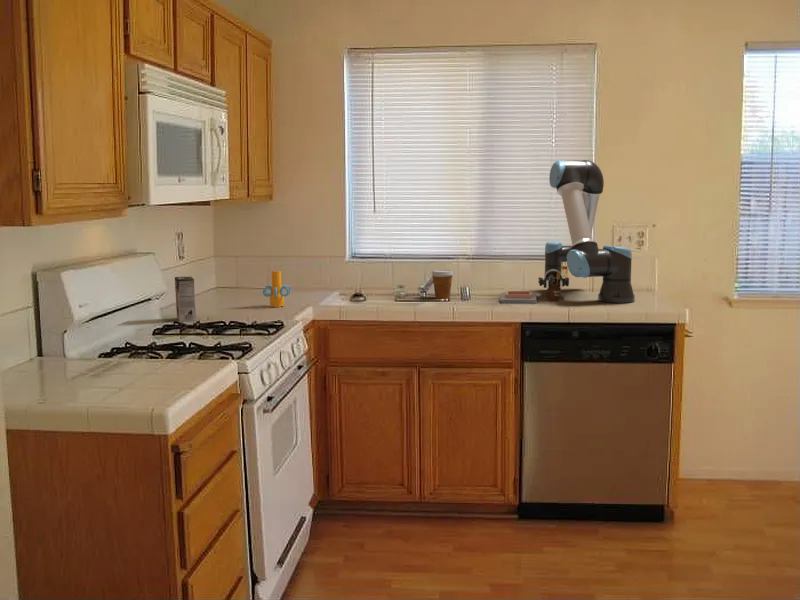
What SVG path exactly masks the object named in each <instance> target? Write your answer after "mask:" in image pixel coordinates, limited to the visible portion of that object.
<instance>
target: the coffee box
mask: <svg viewBox="0 0 800 600" xmlns="http://www.w3.org/2000/svg"><path fill="white" fill-rule="evenodd" d="M174 285H175V287H174V288H175V291H174V292H175V306H176V318H177V319H178V321H179V322H191V321H192V322H193V321H194V322H195V321H197V318H196V317H197V316H196V313H197V312H196V293H195V292H196V290H195V279H194V278H193V277H192V276H174Z"/></svg>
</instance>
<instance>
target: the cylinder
mask: <svg viewBox="0 0 800 600" xmlns="http://www.w3.org/2000/svg"><path fill="white" fill-rule="evenodd" d="M270 275H271V276H270V277H271V280H270V281H271V285H269V284H268V285H266V286H265V287H264V288H263V290H262V294H263V296H264V297H268V298H269V306H271V308H280V307H279V306H283V307H285V297H288V295H290V293H291V287H290V286H289V285H287V284H285V285H283V286H282V270H277V269H276V270H275V269H274V270H271V274H270ZM267 289H269V290H270V293H268V291H267ZM284 289H285V290H286V293H285V292H284Z"/></svg>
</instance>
